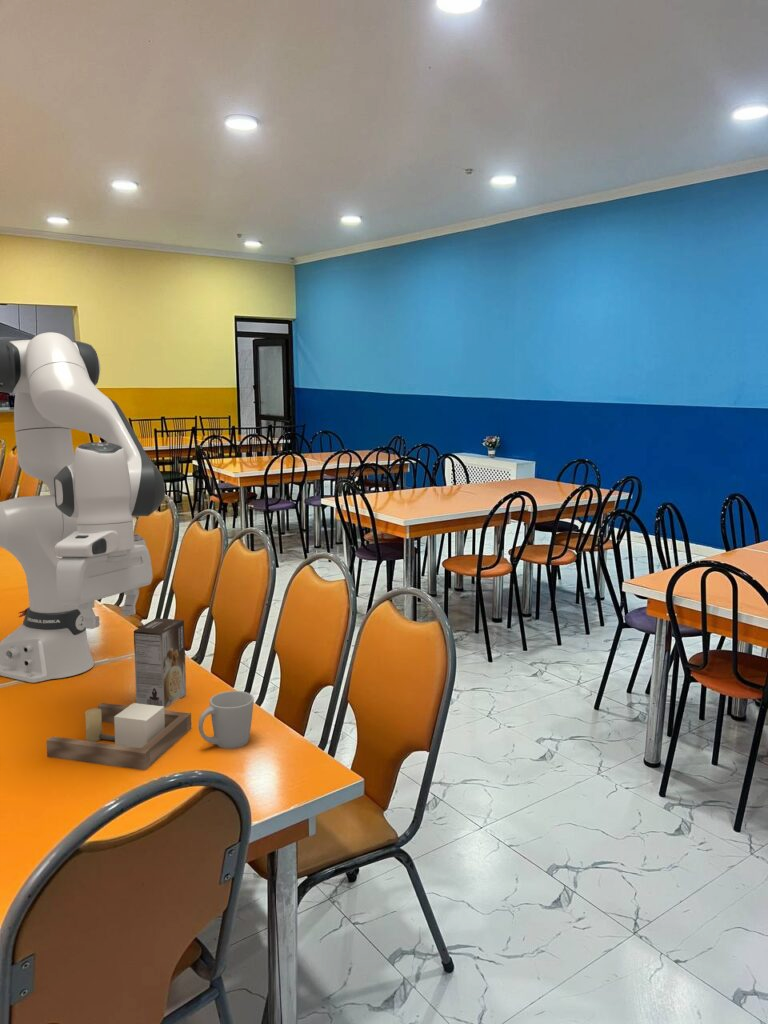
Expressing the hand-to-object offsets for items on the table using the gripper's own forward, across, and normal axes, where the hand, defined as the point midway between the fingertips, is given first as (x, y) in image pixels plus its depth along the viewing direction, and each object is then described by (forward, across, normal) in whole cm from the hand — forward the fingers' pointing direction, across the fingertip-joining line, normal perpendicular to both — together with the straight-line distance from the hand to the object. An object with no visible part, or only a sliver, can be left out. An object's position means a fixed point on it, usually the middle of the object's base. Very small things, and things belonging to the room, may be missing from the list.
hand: (111, 621), depth 125 cm
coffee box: (+22, -21, -6) cm, 31 cm away
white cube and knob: (+22, -3, -2) cm, 22 cm away
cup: (+24, -9, +16) cm, 30 cm away
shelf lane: (+23, -3, -2) cm, 23 cm away
